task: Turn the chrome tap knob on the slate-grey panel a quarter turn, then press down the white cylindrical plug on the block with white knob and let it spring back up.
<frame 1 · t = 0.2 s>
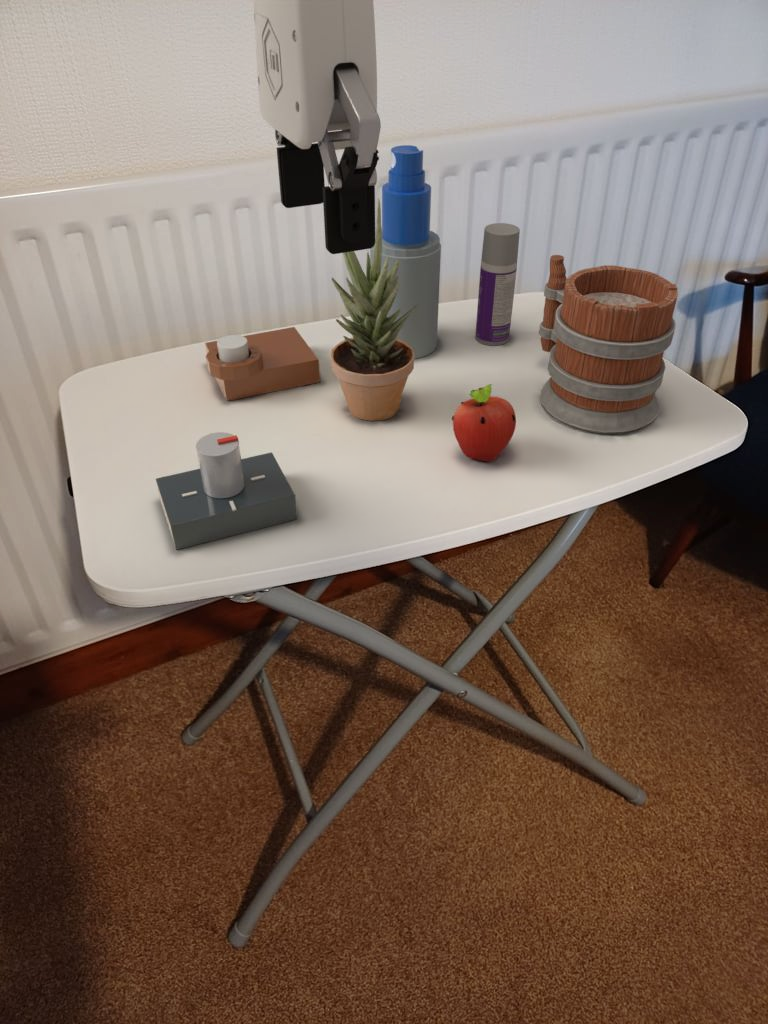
hand: (325, 225, 54), 31 cm above the table, tool pointing down, fingers open, 9 cm apart
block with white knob: (263, 373, 101), on the table
mug: (584, 395, 97), on the table
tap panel: (228, 510, 79), on the table
white cylindrical plug: (233, 349, 94), point 6 cm above the table, slide at 0.1 cm
container: (492, 339, 109), on the table
potted plant: (374, 409, 94), on the table
tap knob: (220, 464, 75), point 6 cm above the table, hinge at 0.0°
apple: (481, 458, 86), on the table
spray bottle: (404, 345, 107), on the table
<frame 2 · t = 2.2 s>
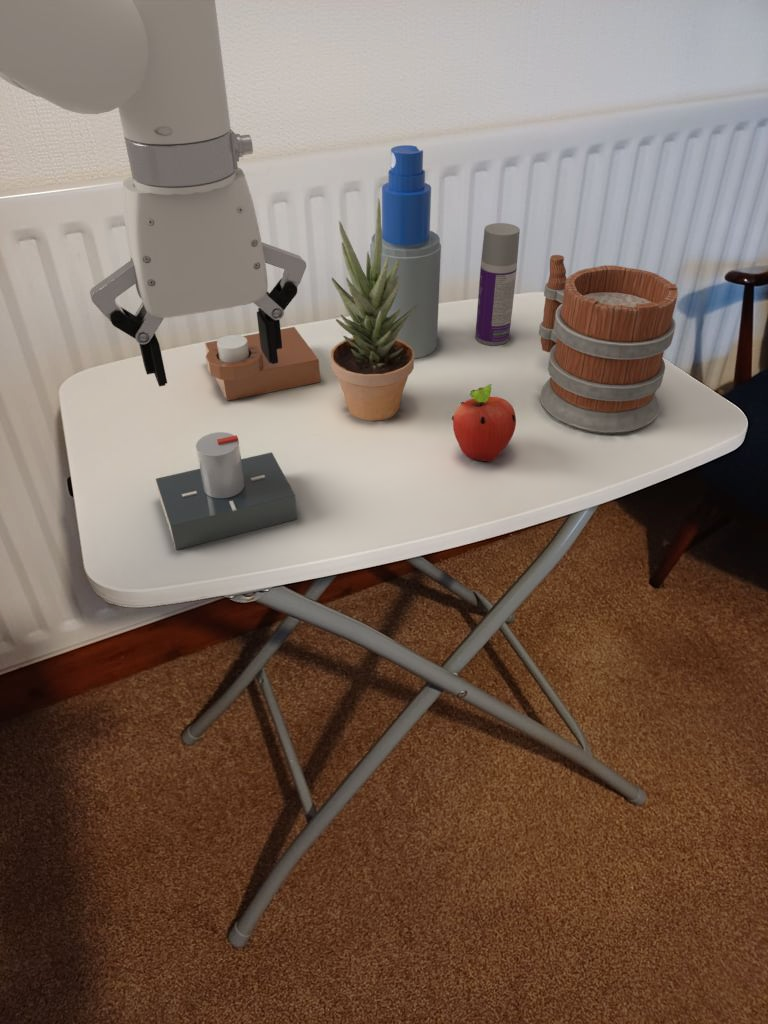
hand: (216, 367, 68), 16 cm above the table, tool pointing down, fingers open, 9 cm apart
nothing on the table moved.
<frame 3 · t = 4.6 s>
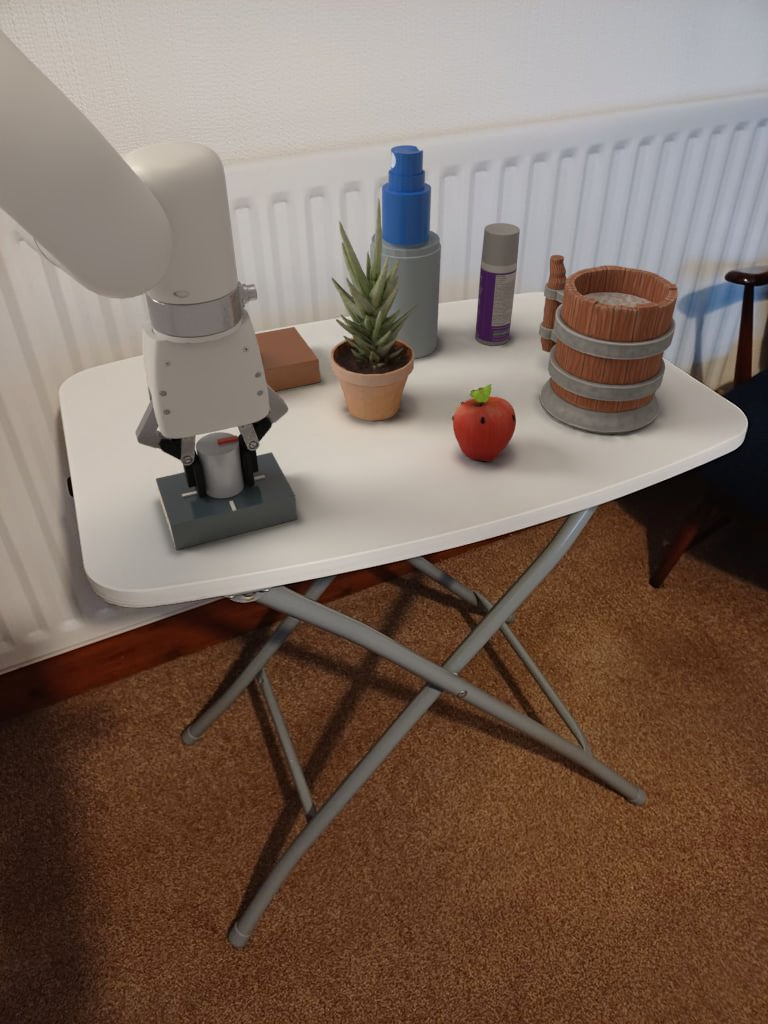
hand: (223, 482, 76), 4 cm above the table, tool pointing down, fingers closed on tap knob, 4 cm apart
tap knob: (220, 464, 75), point 6 cm above the table, hinge at -0.1°, touching gripper
everything else where it was.
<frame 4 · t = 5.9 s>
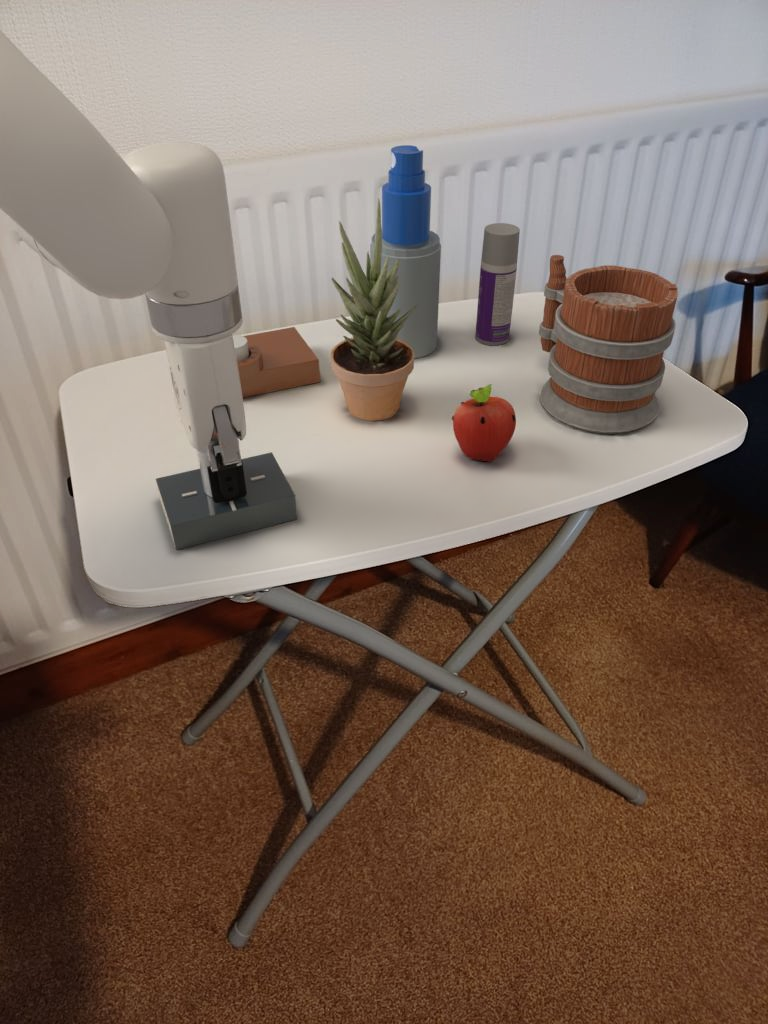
hand: (223, 482, 76), 3 cm above the table, tool pointing down, fingers closed on tap knob, 4 cm apart
tap knob: (220, 464, 75), point 6 cm above the table, hinge at 91.1°, touching gripper
everything else where it was.
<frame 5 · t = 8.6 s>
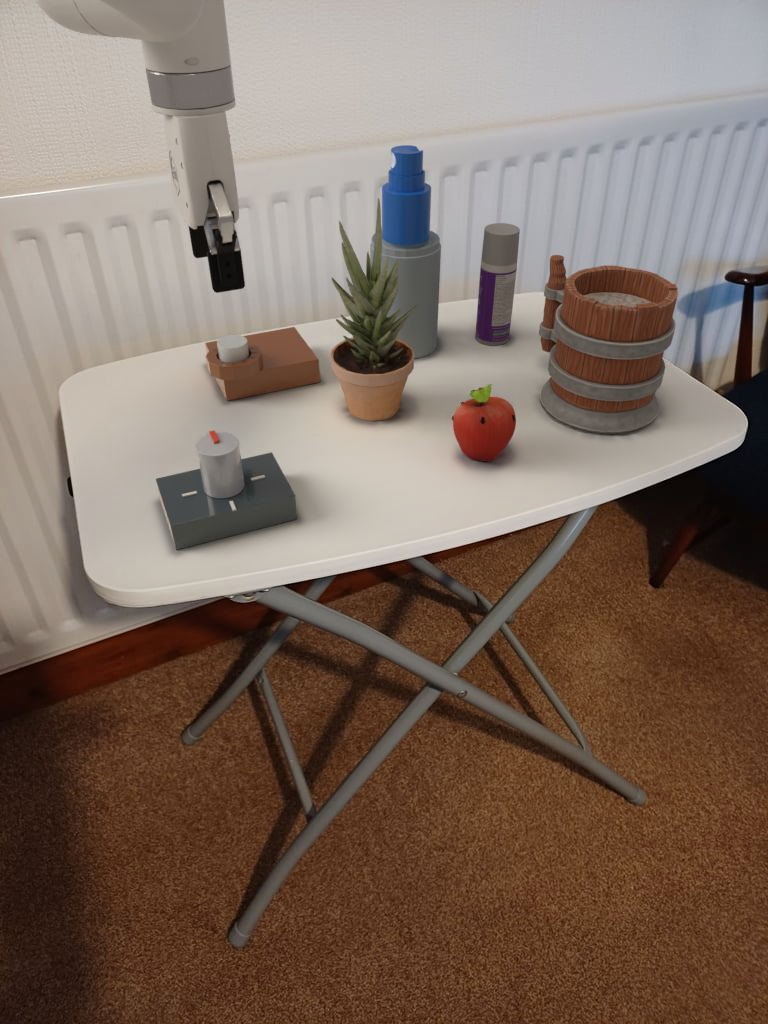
hand: (218, 271, 82), 17 cm above the table, tool pointing down, fingers open, 9 cm apart
tap knob: (220, 464, 75), point 6 cm above the table, hinge at 92.1°
everything else where it was.
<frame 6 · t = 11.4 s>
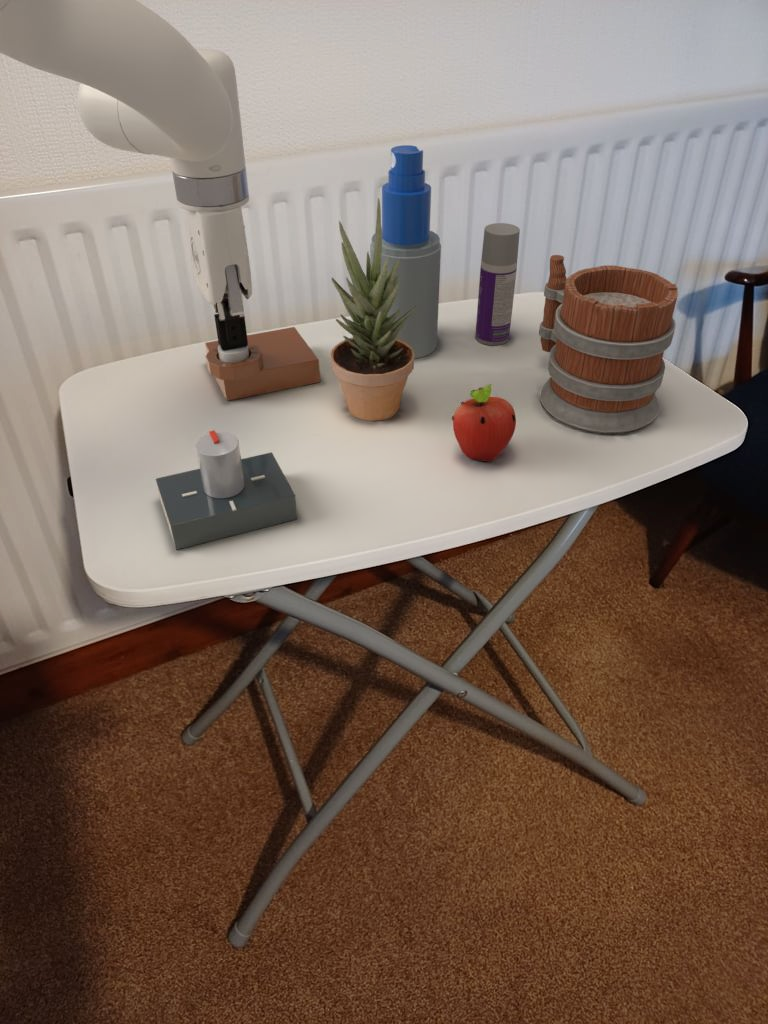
hand: (233, 345, 94), 6 cm above the table, tool pointing down, fingers closed
white cylindrical plug: (233, 354, 94), point 5 cm above the table, slide at -0.6 cm, touching gripper
everything else where it was.
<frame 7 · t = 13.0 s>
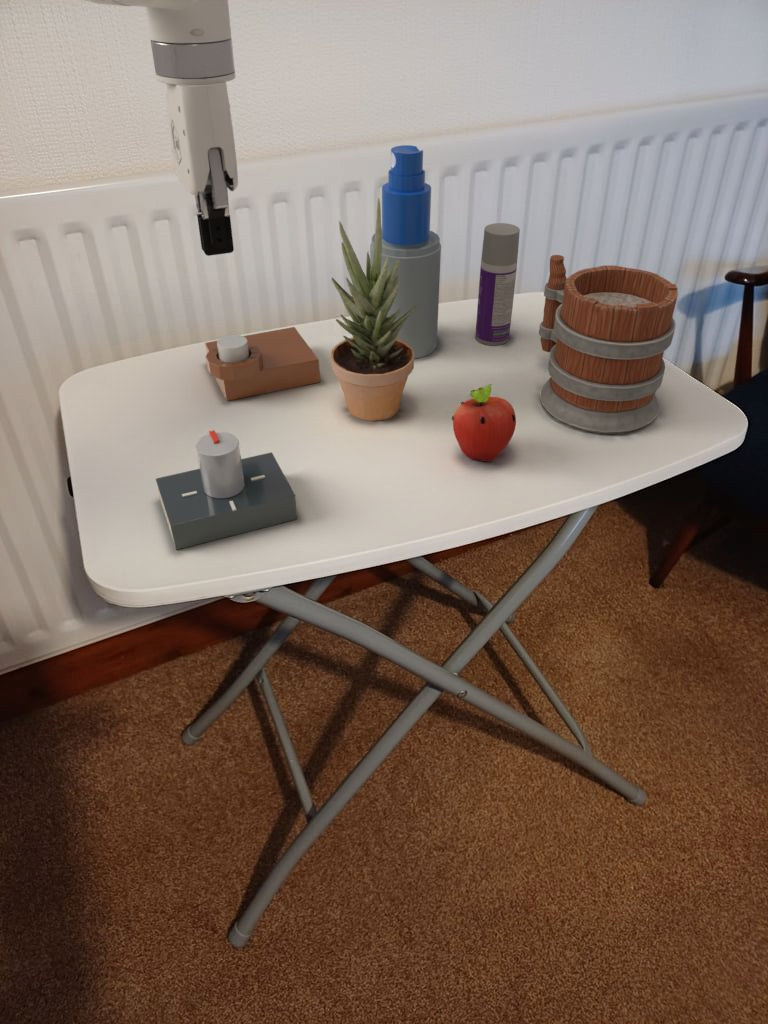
hand: (218, 251, 86), 18 cm above the table, tool pointing down, fingers closed
white cylindrical plug: (233, 349, 94), point 6 cm above the table, slide at 0.1 cm
everything else where it was.
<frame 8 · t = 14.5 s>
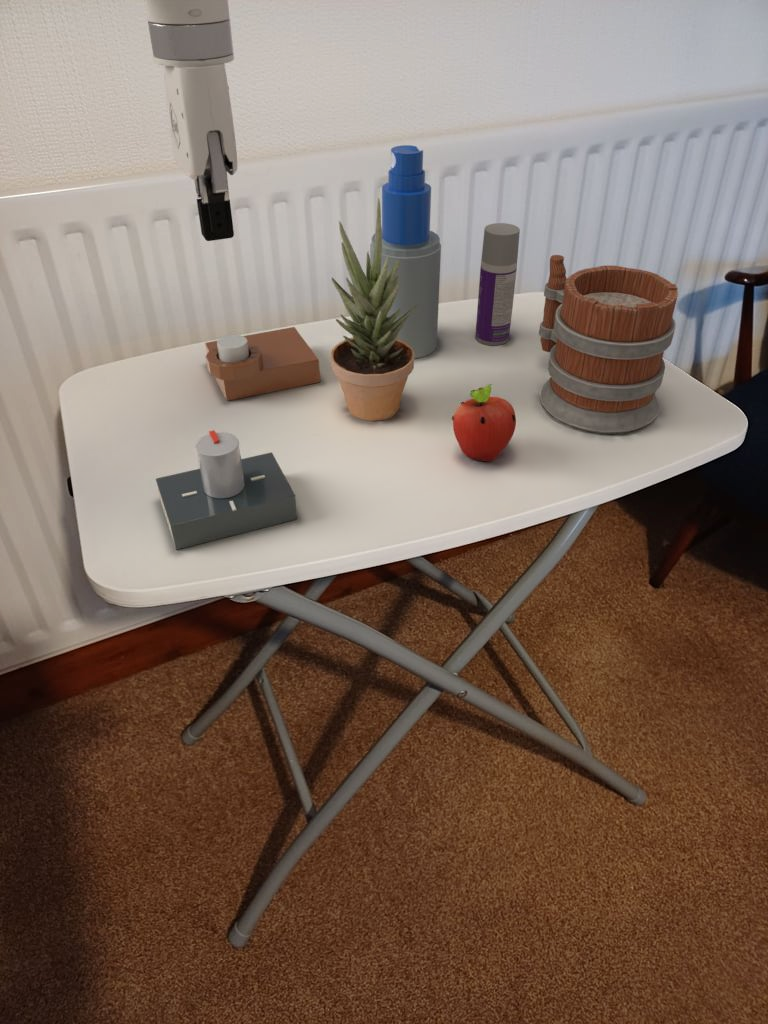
hand: (218, 236, 85), 19 cm above the table, tool pointing down, fingers closed
nothing on the table moved.
at the end: tap knob at +92° (first picture: +0°); white cylindrical plug pushed in 1.0 cm at the most during the clip, back to where it started at the end; white cylindrical plug slide at 0.1 cm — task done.
